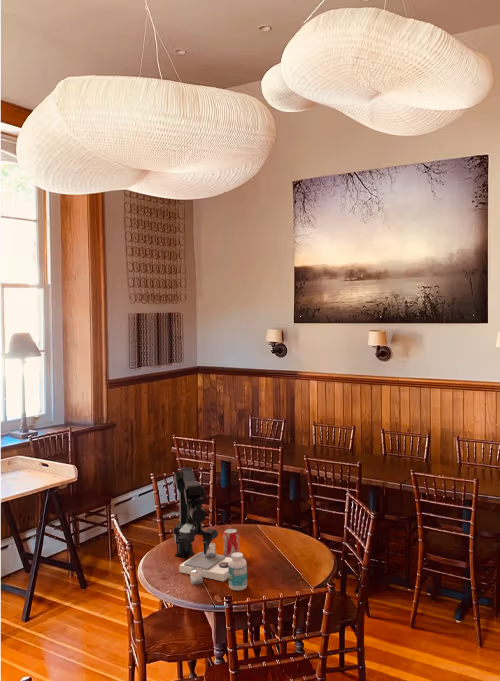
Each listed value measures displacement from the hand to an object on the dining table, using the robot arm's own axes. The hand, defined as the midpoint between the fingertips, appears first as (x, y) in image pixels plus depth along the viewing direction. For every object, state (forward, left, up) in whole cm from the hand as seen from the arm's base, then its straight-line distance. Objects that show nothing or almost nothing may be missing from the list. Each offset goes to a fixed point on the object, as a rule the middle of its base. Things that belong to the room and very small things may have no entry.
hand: (195, 552), depth 253 cm
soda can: (0, +29, -13) cm, 32 cm away
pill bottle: (+18, +3, -13) cm, 22 cm away
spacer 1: (0, 0, -12) cm, 13 cm away
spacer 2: (-4, +17, -9) cm, 20 cm away
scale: (-1, +13, -12) cm, 18 cm away
